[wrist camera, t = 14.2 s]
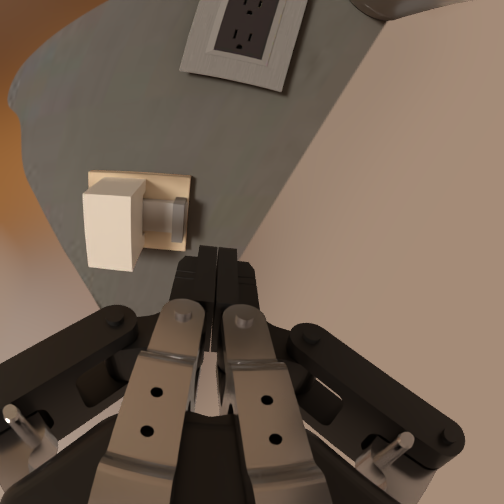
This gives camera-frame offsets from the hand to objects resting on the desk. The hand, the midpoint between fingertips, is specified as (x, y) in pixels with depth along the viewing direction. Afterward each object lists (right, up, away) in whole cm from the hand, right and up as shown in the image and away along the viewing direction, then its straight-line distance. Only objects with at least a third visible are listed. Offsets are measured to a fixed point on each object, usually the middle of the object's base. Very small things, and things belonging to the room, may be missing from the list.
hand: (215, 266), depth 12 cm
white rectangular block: (-13, +5, +20) cm, 25 cm away
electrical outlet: (+1, +24, +13) cm, 28 cm away
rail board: (-12, +6, +21) cm, 25 cm away
